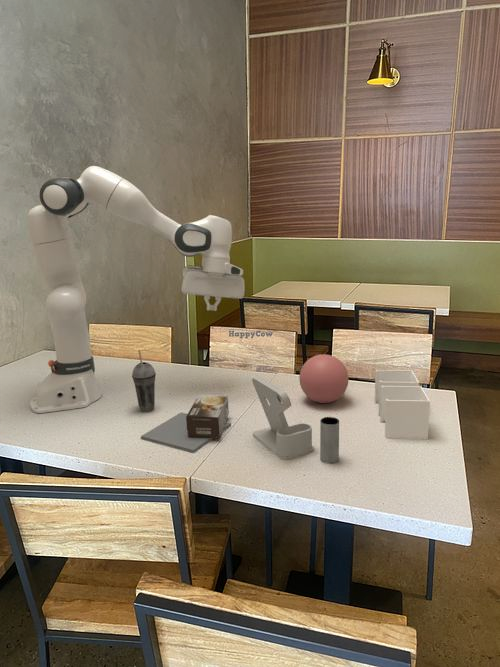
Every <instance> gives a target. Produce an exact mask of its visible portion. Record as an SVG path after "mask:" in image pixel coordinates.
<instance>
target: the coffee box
mask: <svg viewBox="0 0 500 667" xmlns="http://www.w3.org/2000/svg"><path fill="white" fill-rule="evenodd" d="M229 413H230V412H229V395H227V394H198V395H197V396H196V399H195V401H194V402H193V404H192V405H191V408H190V409H189V411H188V413H186V414H187V416H186V423H187V430H188V437H202V438H214V439H220V437H221V435H222V433H223V432H222V430H223V427H224V425H225V422H227V419H228V417H229ZM221 432H222V433H221Z"/></svg>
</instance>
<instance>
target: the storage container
mask: <svg viewBox="0 0 500 667" xmlns="http://www.w3.org/2000/svg"><path fill="white" fill-rule="evenodd" d="M374 379H375V380H374V382H375V383H374V404H375V405H376V404H378V414H377V415H378V417H379V421H380V423H383V422H385V423H384V438H385V439H406V440H407V439H408V440H428V439H429V428H430V427H429V424H430V423H429V422H430V410H431V401H430V398H429V397H428V395H427V394H426V392H425V390H424V388H423V387H422V386H420V381H419V379H418V378H417V376H416V375H415V372H414V371H413V370H411V369H408V370H407V369H402V370H401V369H397V370H396V369H375V378H374Z"/></svg>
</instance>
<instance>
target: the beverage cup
mask: <svg viewBox="0 0 500 667" xmlns="http://www.w3.org/2000/svg"><path fill="white" fill-rule="evenodd" d="M141 352H142V351H141V349H139V350H138V356H139V360H140V362H138V363H137V364H136V365H135V366H134V368H133V370H132V375H131V377H132V380H133V383H134V387H135V393H136V394H135V395H136V398H137V404H138V405H137V406H138V408H139V412H141V413H151V412H153V411H154V410H155V404H156V403H155V397H156V396H155V395H156V394H155V392H156V390H155V389H156V388H155V386H156V385H155V384H156V375H157V374H156V371H155V368H154V366H153V365H152V364H150V363H149V362H144V361H143V359H142V353H141Z"/></svg>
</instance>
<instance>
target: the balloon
mask: <svg viewBox="0 0 500 667" xmlns="http://www.w3.org/2000/svg"><path fill="white" fill-rule="evenodd" d="M298 378H299V379H298V380H299V385H300V388H301V390H302V392H303V393H304V395H306V397H307V398H308V399H310V400H312V401H313V402H316V403H320V404H328V403H332V402H333V403H334V402H335V401H337V400H339V399H341V397H342V396H343V395H344V394H345V392H346V390H347V388H348V386H349V373H348V370H347V368H346V366H345V365H344V363H343V362H342V361H341V359H339V358H337V357H336V356H334V355H330V354H324V353H323V354H316V355H314V356H312V357H310V358H309V359H307V360H306V361H305V362H304V364H303V365H302V366H301V369H300V372H299V376H298Z"/></svg>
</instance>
